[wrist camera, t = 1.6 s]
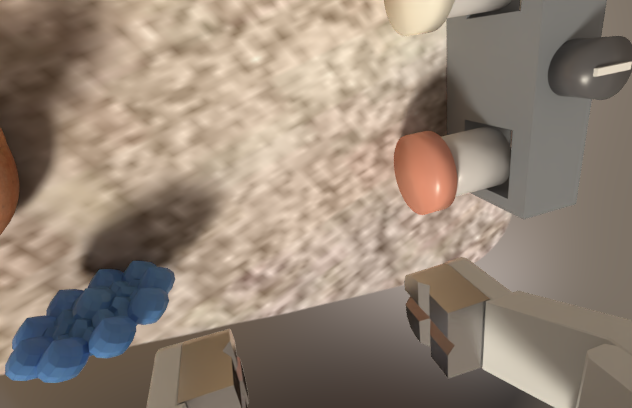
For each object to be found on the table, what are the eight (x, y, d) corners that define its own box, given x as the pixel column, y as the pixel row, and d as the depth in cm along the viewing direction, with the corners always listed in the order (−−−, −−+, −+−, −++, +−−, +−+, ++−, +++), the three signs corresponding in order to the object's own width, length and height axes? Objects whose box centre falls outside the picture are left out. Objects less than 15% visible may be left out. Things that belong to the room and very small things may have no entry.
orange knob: (391, 128, 34) (434, 144, 28) (465, 112, 36) (523, 124, 30) (396, 198, 37) (436, 227, 31) (464, 180, 39) (516, 204, 32)
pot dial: (550, 43, 26) (595, 40, 23) (596, 34, 27) (644, 31, 24) (545, 100, 28) (585, 105, 25) (587, 91, 28) (632, 94, 25)
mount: (446, -72, 32) (555, -132, 22) (500, -78, 33) (627, -137, 23) (447, 181, 41) (523, 219, 31) (489, 170, 42) (576, 204, 32)
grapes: (70, 330, 35) (10, 448, 25) (35, 272, 33) (-49, 376, 22) (191, 291, 37) (186, 384, 27) (168, 234, 35) (152, 312, 24)
